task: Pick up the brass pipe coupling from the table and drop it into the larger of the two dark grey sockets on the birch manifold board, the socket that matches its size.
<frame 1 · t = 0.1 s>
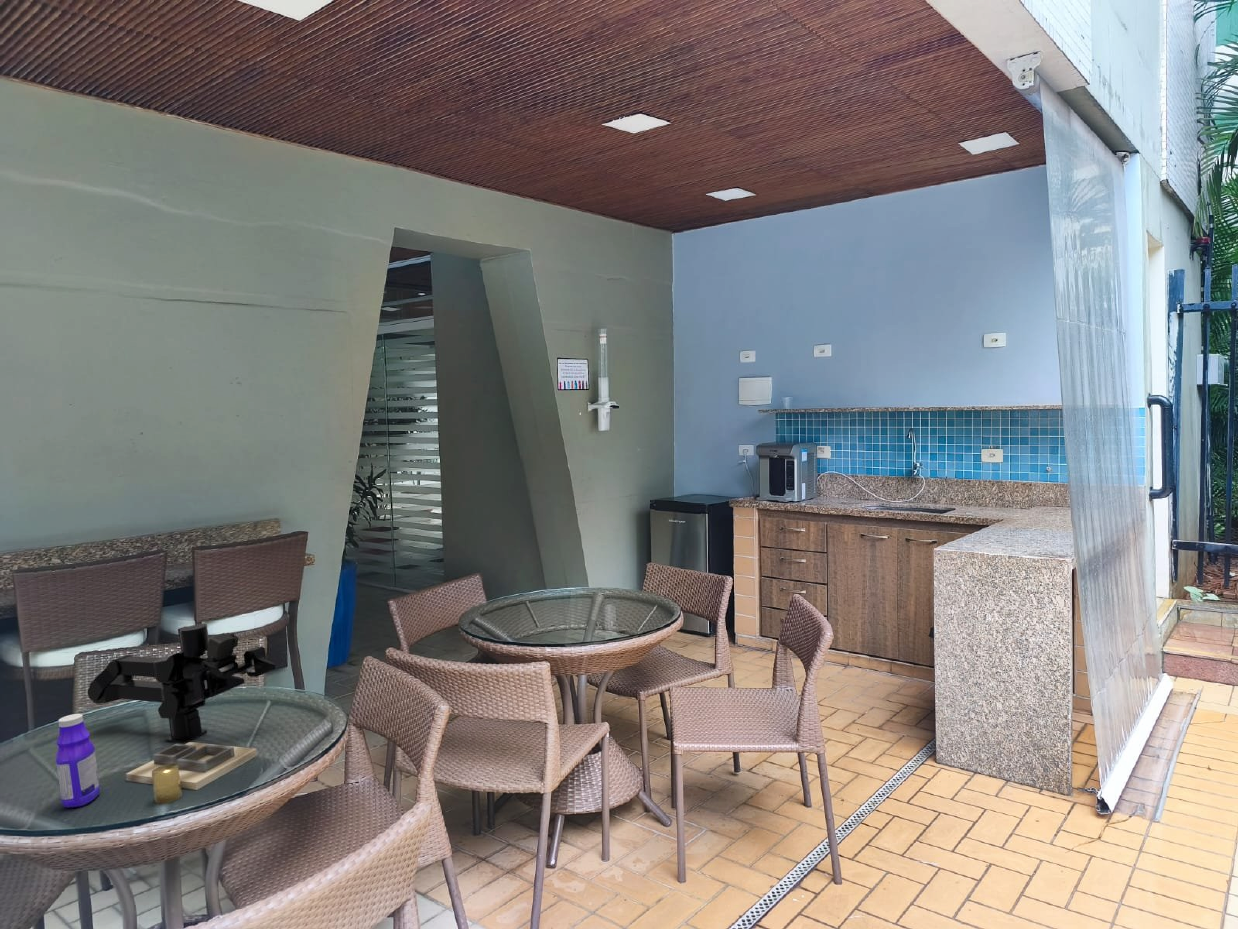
hand: (259, 673, 187), 17 cm above the table, tool horizontal, fingers open, 9 cm apart
coupling: (168, 798, 165), on the table
manifold board: (193, 768, 179), on the table
bottle: (82, 802, 168), on the table
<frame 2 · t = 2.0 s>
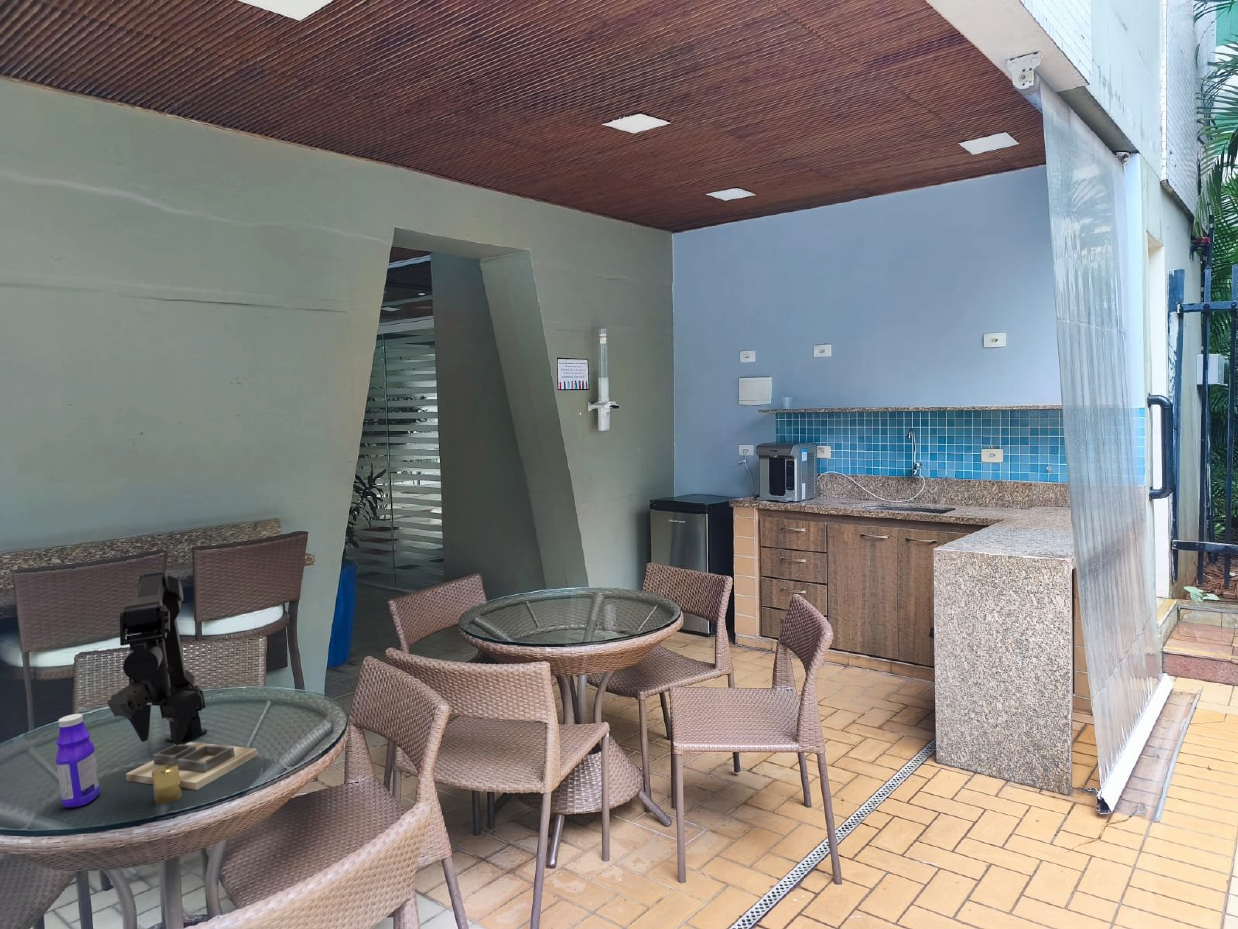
hand: (161, 742, 165), 11 cm above the table, tool pointing down, fingers open, 9 cm apart
nothing on the table moved.
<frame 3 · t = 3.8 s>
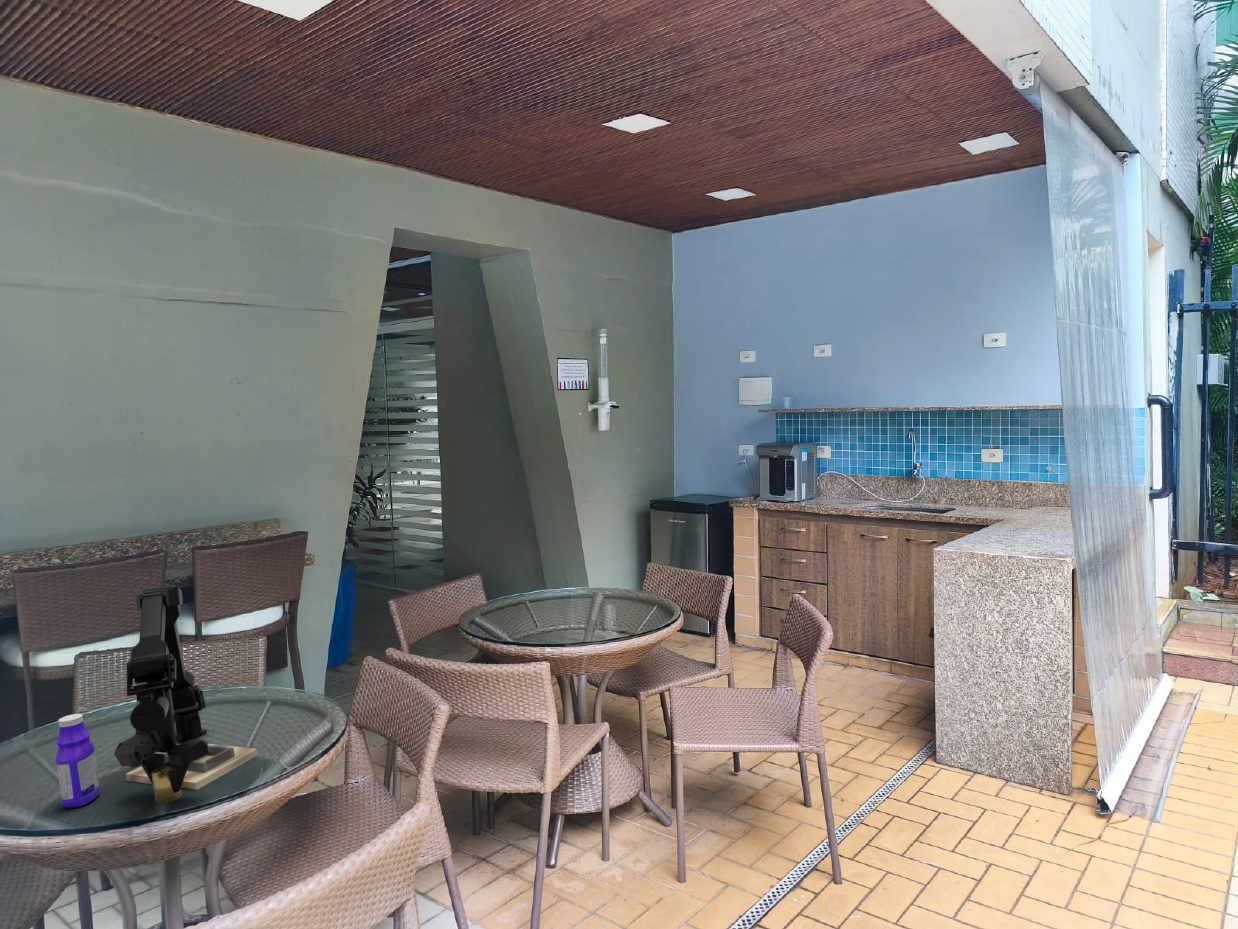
hand: (167, 790, 165), 2 cm above the table, tool pointing down, fingers closed on coupling, 5 cm apart
coupling: (168, 798, 165), on the table, touching gripper
everything else where it was.
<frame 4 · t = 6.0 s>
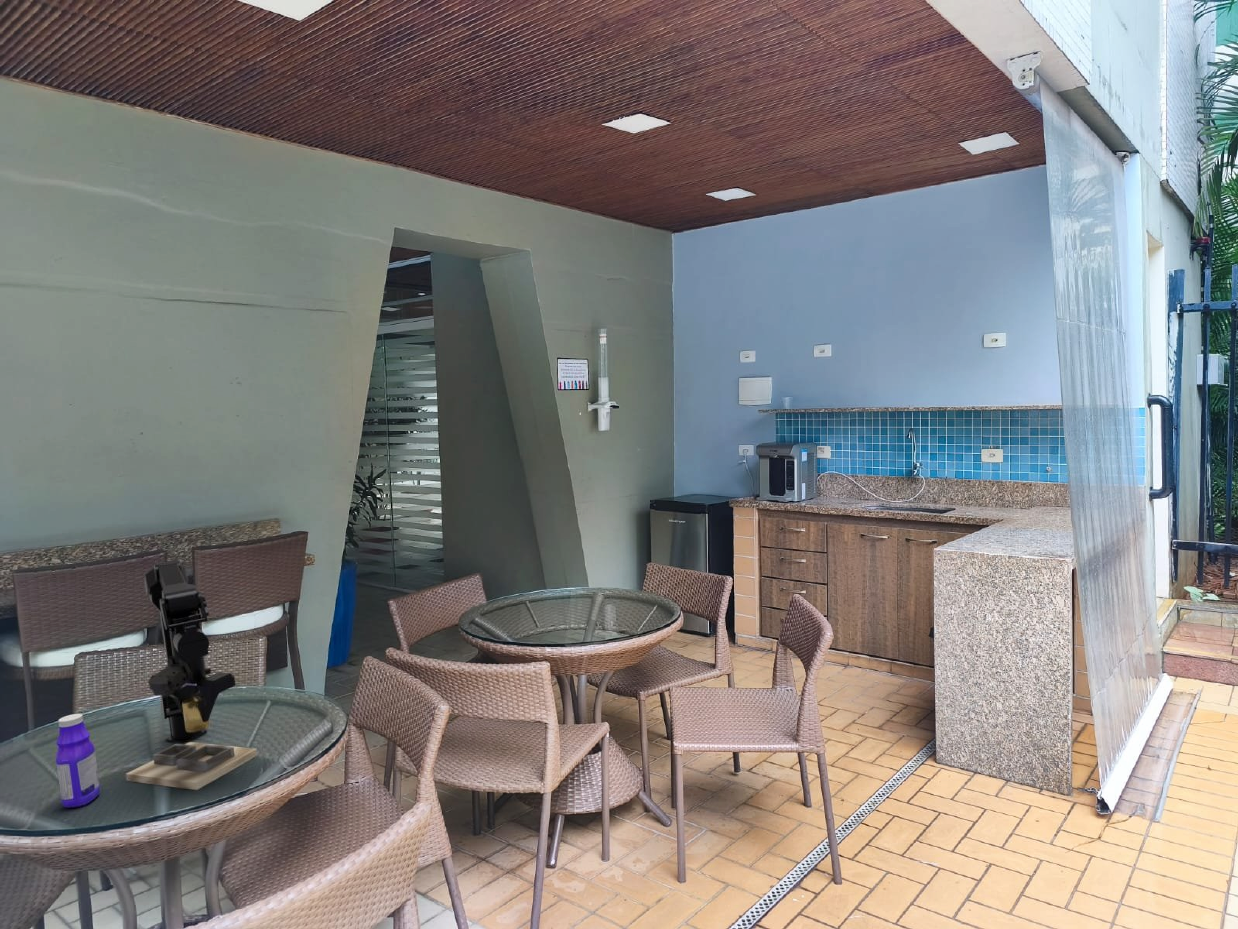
hand: (197, 720, 176), 11 cm above the table, tool pointing down, fingers closed on coupling, 5 cm apart
coupling: (197, 727, 176), point 10 cm above the table, touching gripper
everything else where it was.
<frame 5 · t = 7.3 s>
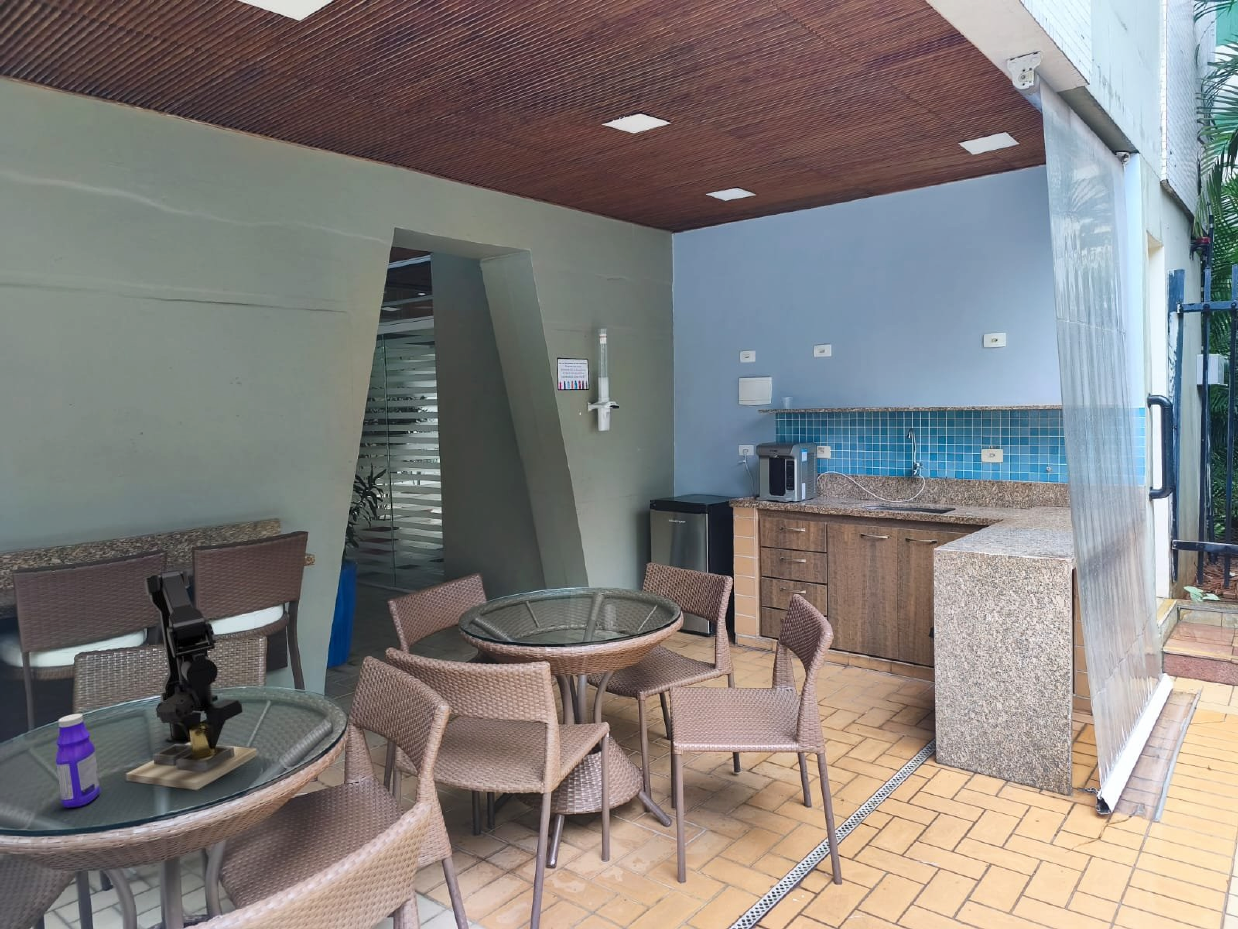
hand: (204, 747, 177), 5 cm above the table, tool pointing down, fingers closed on coupling, 5 cm apart
coupling: (205, 754, 177), point 3 cm above the table, touching gripper
everything else where it was.
when the fingers open (4 cm above the table, at t = 8.2 s): coupling drops 1 cm, resting on manifold board.
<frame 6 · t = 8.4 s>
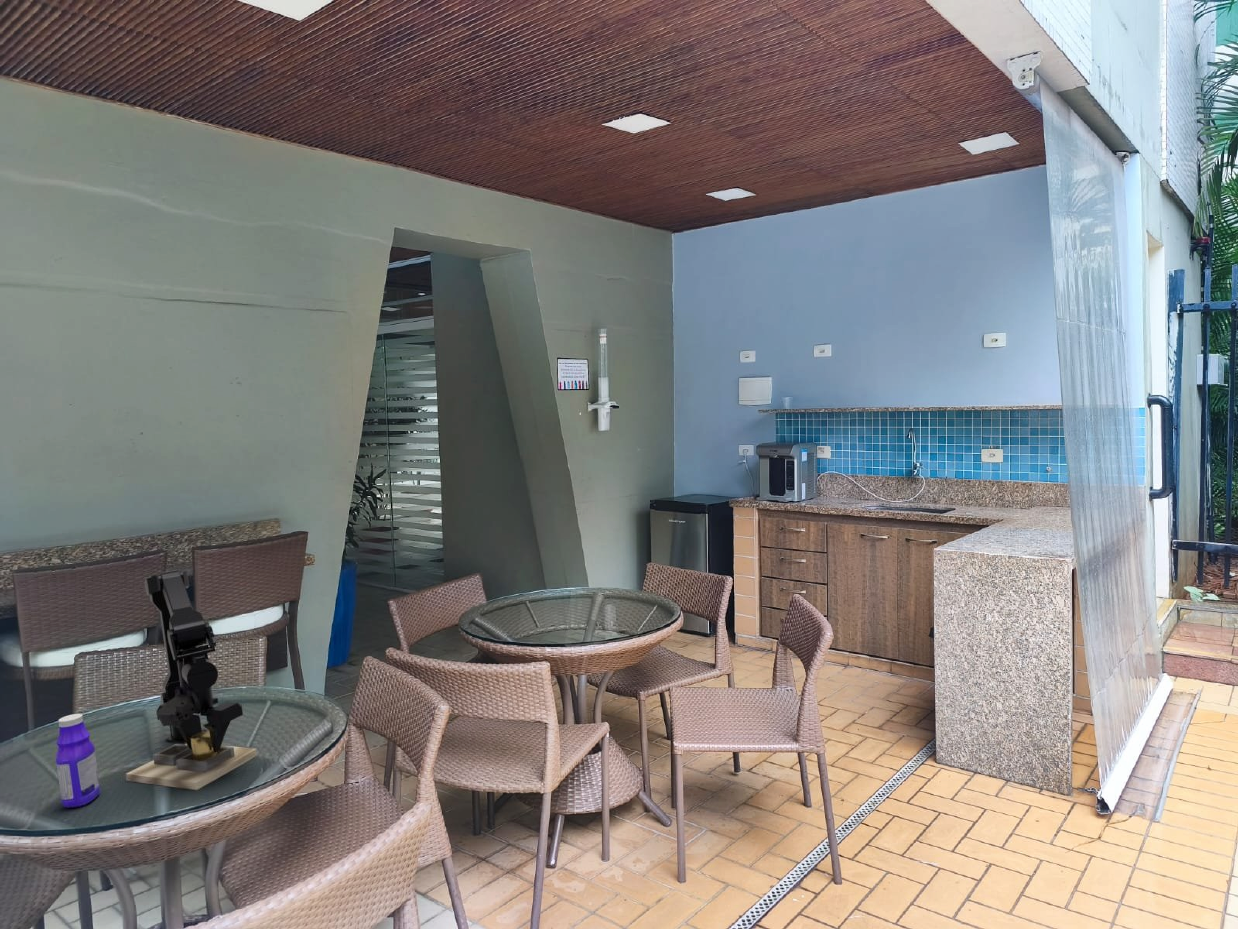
hand: (204, 750, 177), 4 cm above the table, tool pointing down, fingers open, 7 cm apart
coupling: (206, 762, 178), point 2 cm above the table, touching manifold board
everything else where it was.
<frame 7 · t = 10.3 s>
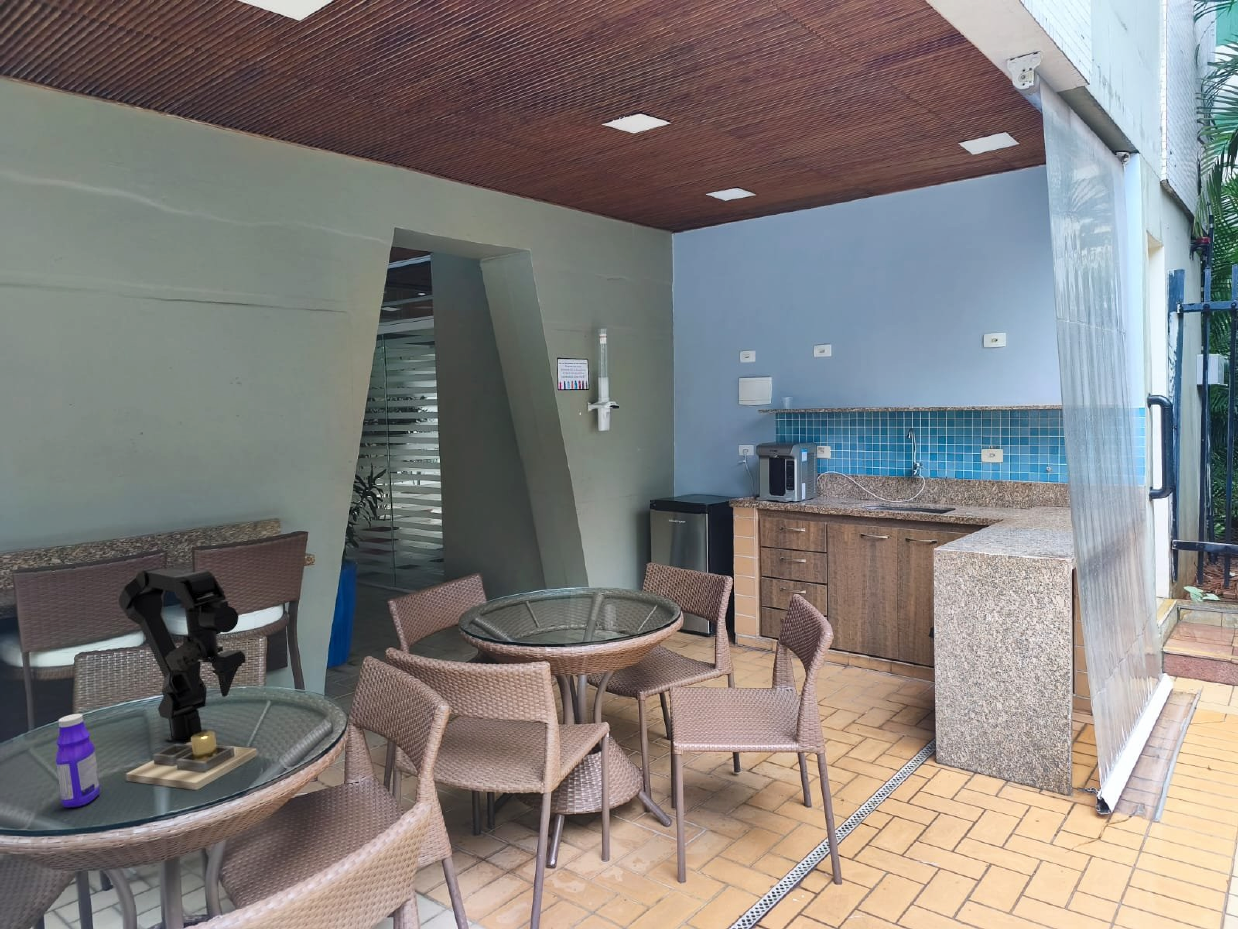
hand: (210, 694, 190), 12 cm above the table, tool pointing down, fingers open, 9 cm apart
nothing on the table moved.
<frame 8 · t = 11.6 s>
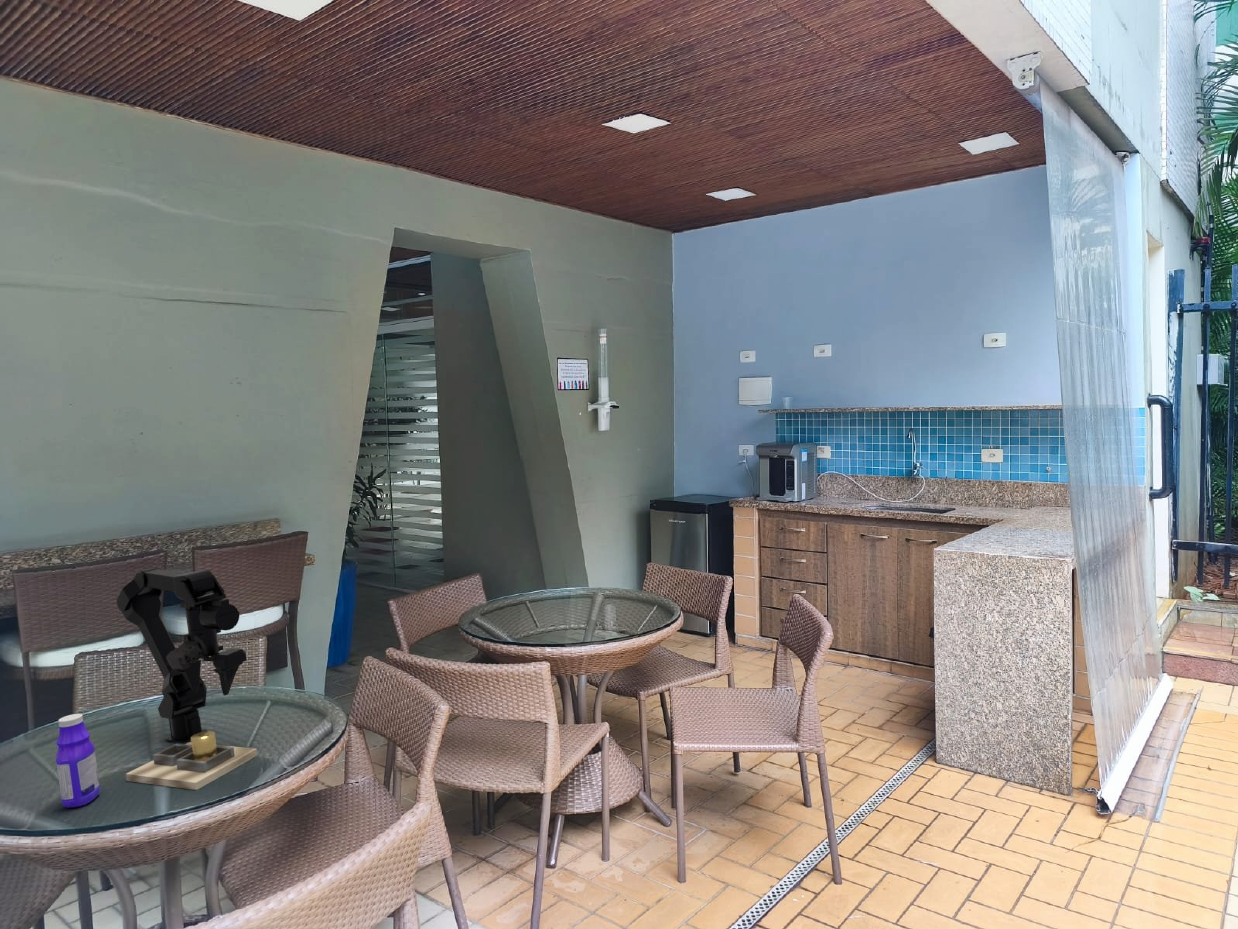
hand: (210, 693, 190), 12 cm above the table, tool pointing down, fingers open, 9 cm apart
nothing on the table moved.
at the end: coupling 0.0 cm from the target spot on the manifold board, point 1.5 cm above the manifold board's base; coupling tilted 0°; the gripper is holding nothing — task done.
